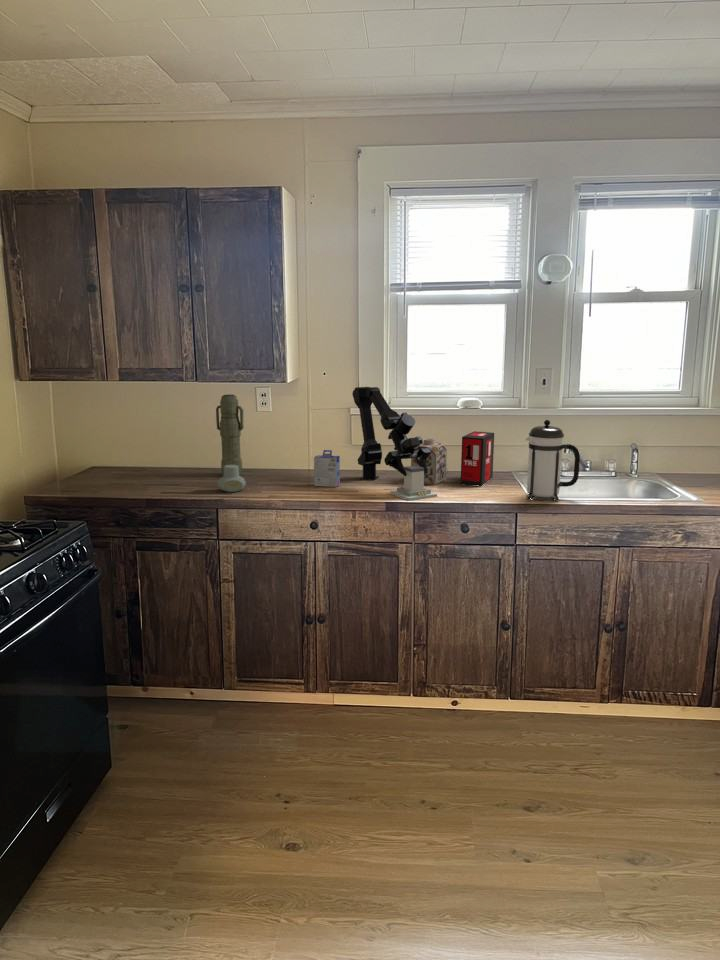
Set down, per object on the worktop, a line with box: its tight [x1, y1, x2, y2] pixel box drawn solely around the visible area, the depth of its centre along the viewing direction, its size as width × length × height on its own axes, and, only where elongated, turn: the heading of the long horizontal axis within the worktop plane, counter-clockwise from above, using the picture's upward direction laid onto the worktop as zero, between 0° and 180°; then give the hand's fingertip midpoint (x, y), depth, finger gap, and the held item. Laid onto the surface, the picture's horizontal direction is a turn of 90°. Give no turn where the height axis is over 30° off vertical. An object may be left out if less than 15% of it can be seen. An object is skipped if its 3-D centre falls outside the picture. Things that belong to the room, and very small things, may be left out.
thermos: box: [215, 394, 245, 477], centre depth 304 cm, size 9×12×35 cm
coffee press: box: [524, 419, 581, 501], centre depth 265 cm, size 17×16×30 cm
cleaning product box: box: [460, 431, 495, 487], centre depth 293 cm, size 16×9×20 cm, turn 154°
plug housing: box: [403, 465, 425, 492], centre depth 271 cm, size 6×6×10 cm
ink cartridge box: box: [313, 449, 341, 488], centre depth 287 cm, size 10×6×14 cm, turn 78°
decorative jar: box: [410, 438, 448, 486], centre depth 294 cm, size 12×12×18 cm
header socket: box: [390, 486, 438, 502], centre depth 272 cm, size 13×13×2 cm
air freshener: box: [217, 465, 247, 493], centre depth 278 cm, size 11×8×10 cm
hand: (416, 474), depth 269 cm, fingers open, 9 cm apart
